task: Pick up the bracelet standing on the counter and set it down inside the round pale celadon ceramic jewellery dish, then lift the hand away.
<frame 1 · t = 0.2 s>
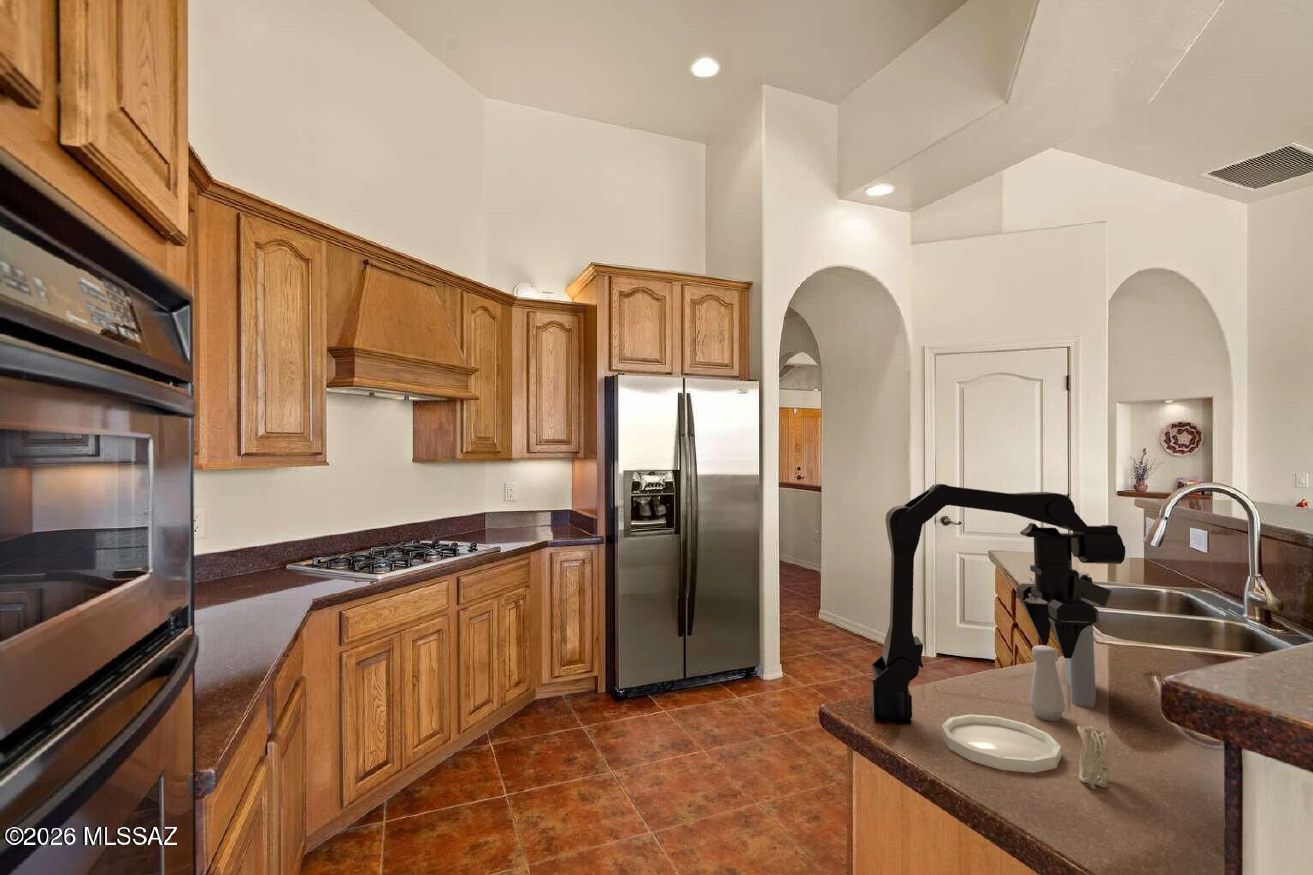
hand: (1055, 650, 109), 14 cm above the countertop, tool pointing down, fingers open, 9 cm apart
ring dish: (999, 746, 103), on the countertop
bracelet: (1095, 784, 91), on the countertop
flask: (1081, 693, 127), on the countertop
salt shaker: (1047, 717, 115), on the countertop
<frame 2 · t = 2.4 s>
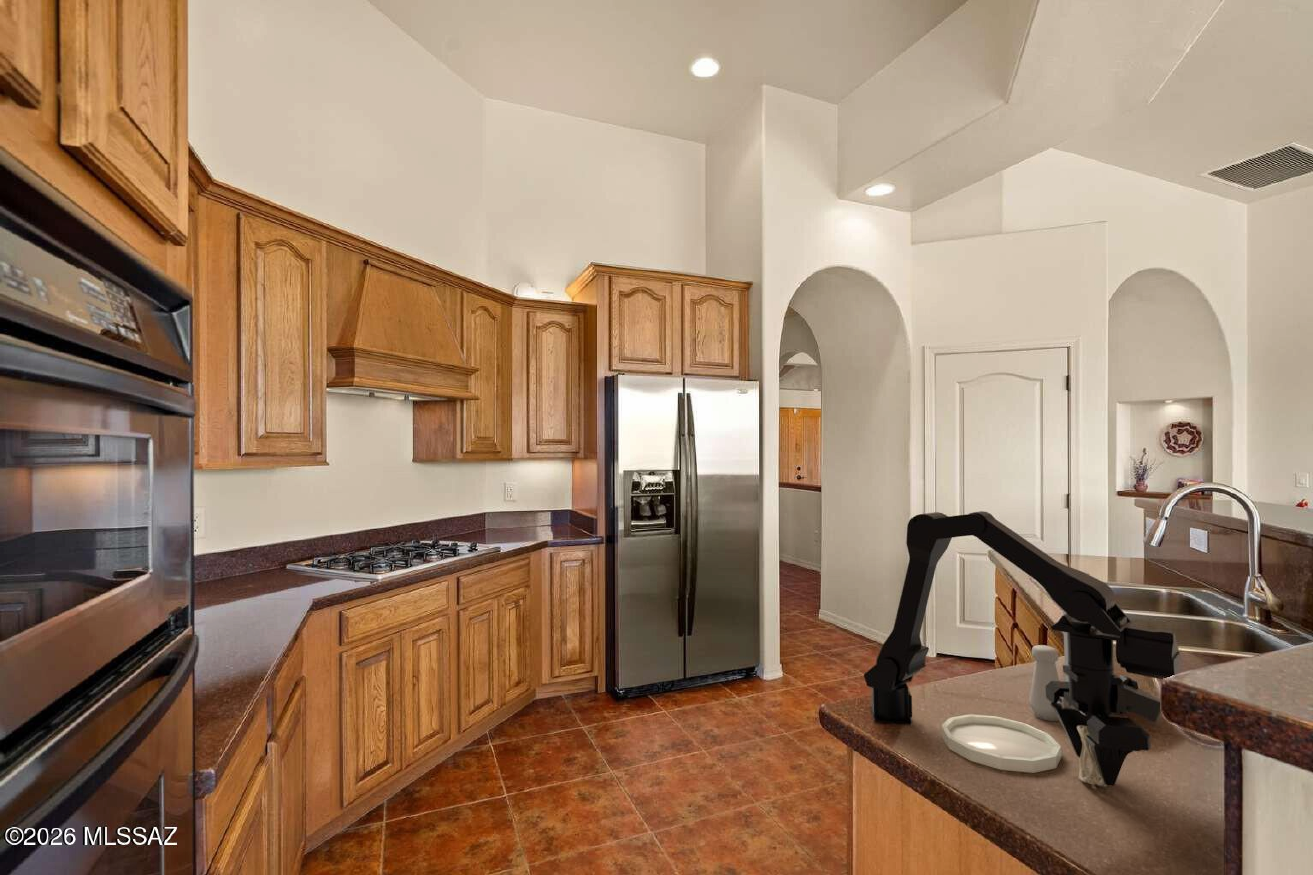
hand: (1094, 770, 91), 2 cm above the countertop, tool pointing down, fingers closed on bracelet, 8 cm apart
bracelet: (1095, 784, 91), on the countertop, touching gripper
everything else where it was.
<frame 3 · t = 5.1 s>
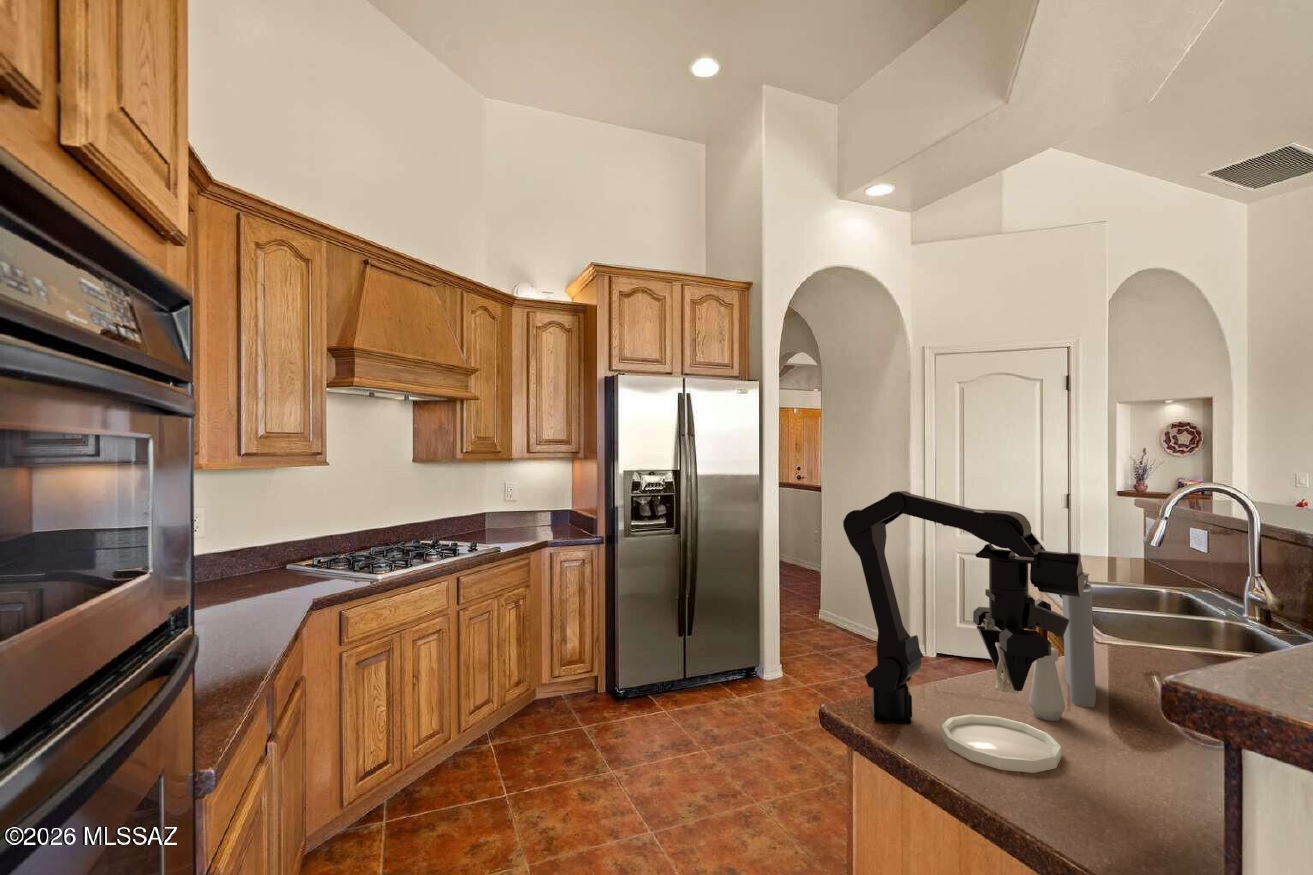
hand: (1008, 681, 102), 11 cm above the countertop, tool pointing down, fingers closed on bracelet, 8 cm apart
bracelet: (1008, 692, 102), point 9 cm above the countertop, touching gripper
everything else where it was.
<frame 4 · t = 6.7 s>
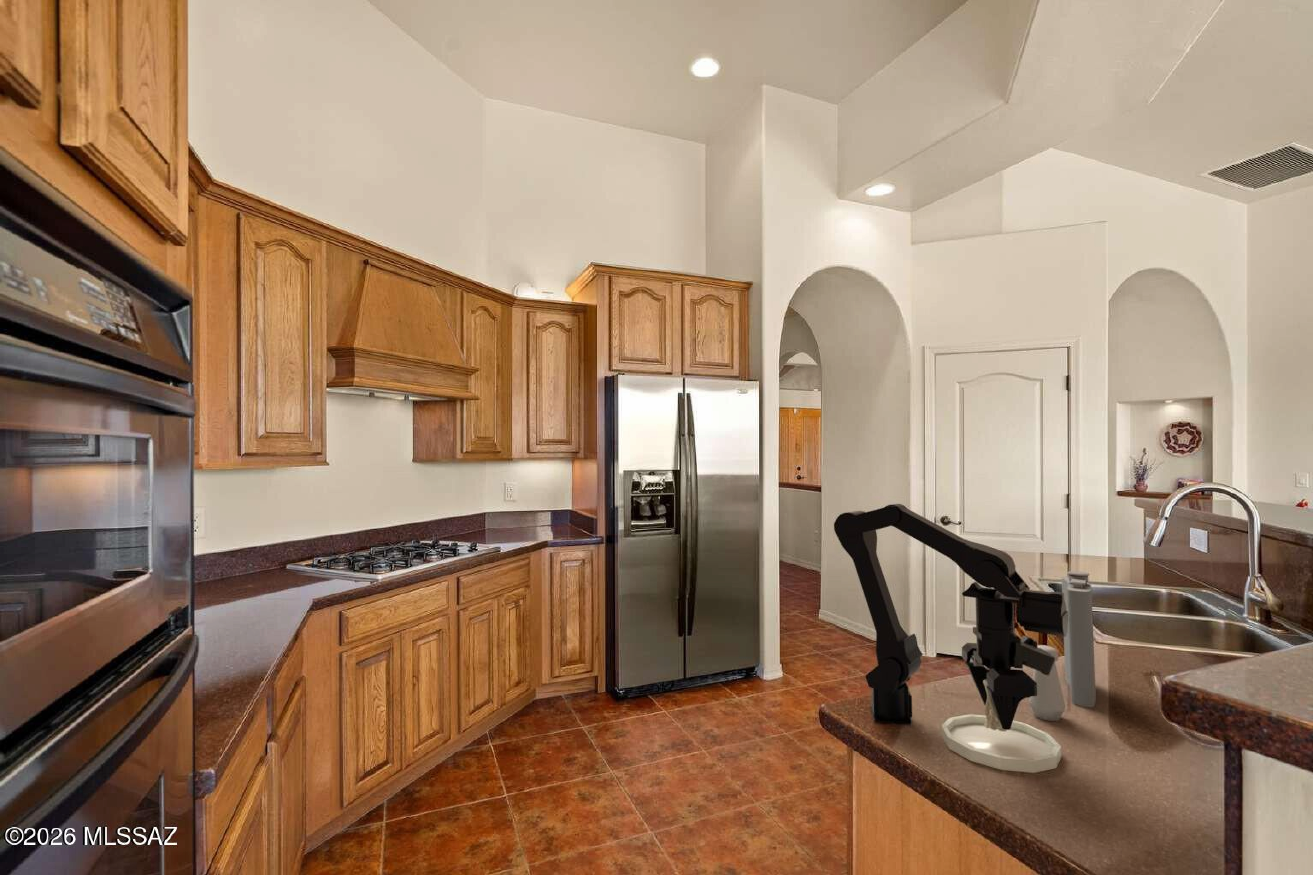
hand: (997, 718, 103), 5 cm above the countertop, tool pointing down, fingers closed on bracelet, 8 cm apart
bracelet: (997, 730, 103), point 3 cm above the countertop, touching gripper
everything else where it was.
when the fingers open (4 cm above the countertop, at t = 7.7 s): bracelet drops 2 cm, resting on ring dish.
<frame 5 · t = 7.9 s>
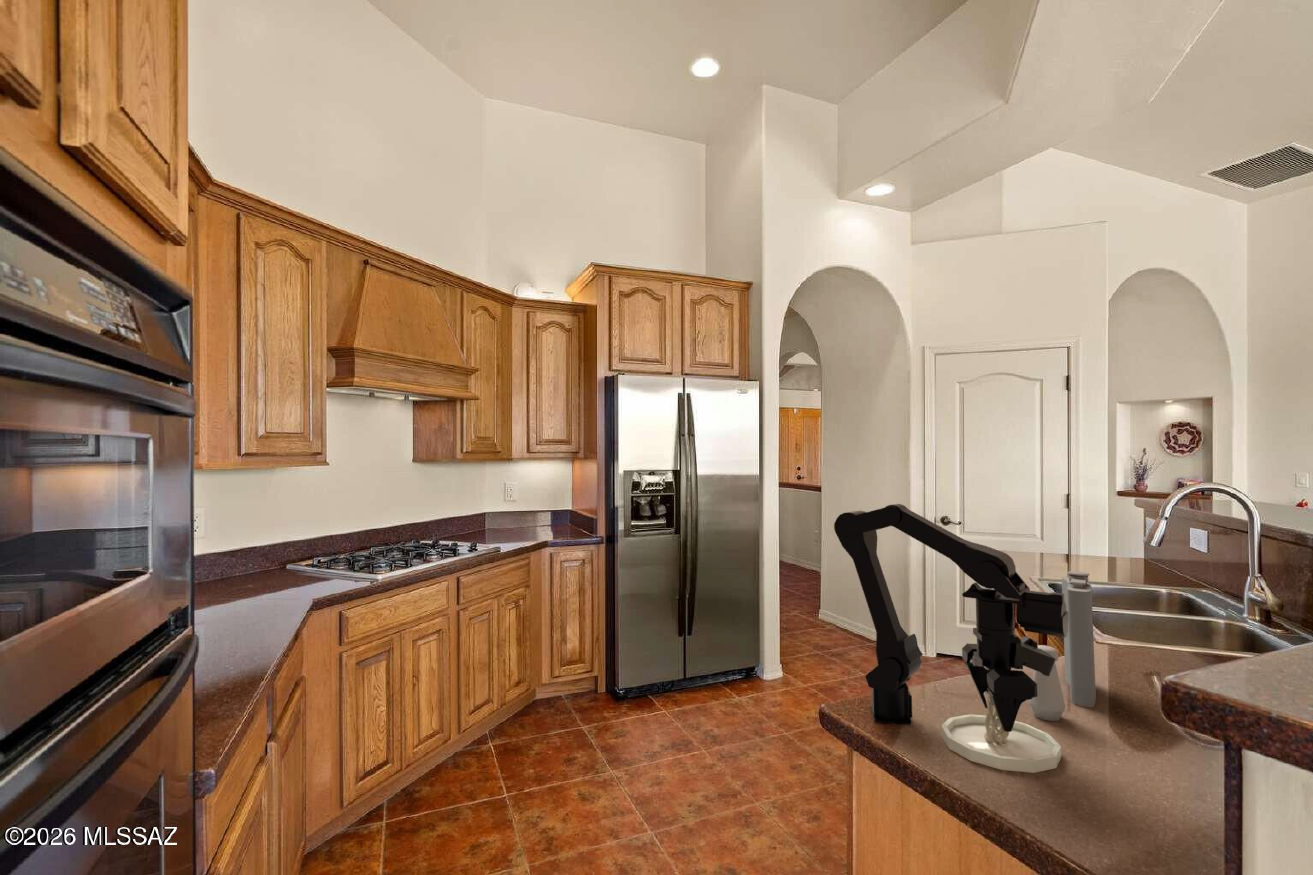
hand: (997, 719, 103), 4 cm above the countertop, tool pointing down, fingers open, 9 cm apart
bracelet: (997, 742, 103), resting on ring dish, touching gripper
everything else where it was.
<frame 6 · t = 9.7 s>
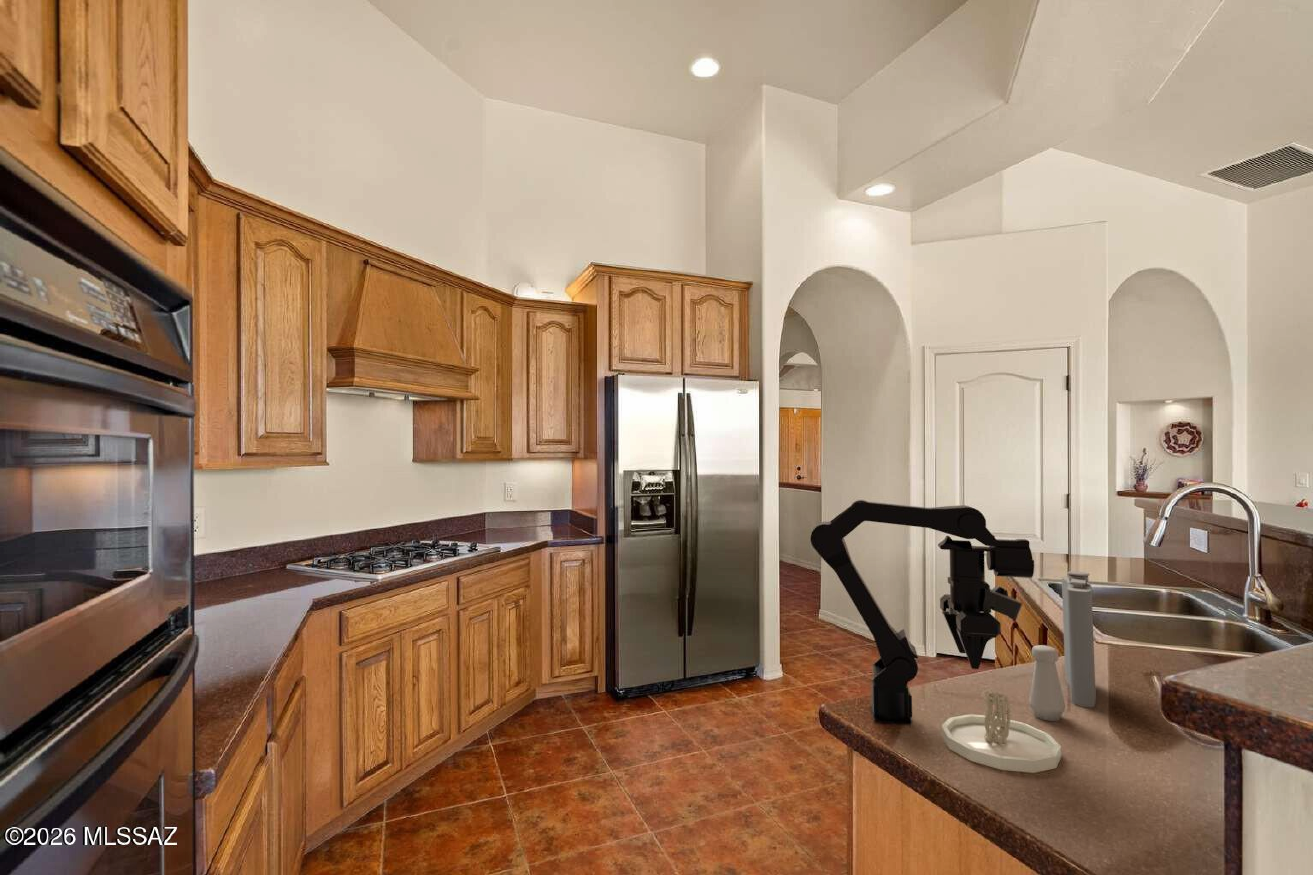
hand: (968, 660, 111), 12 cm above the countertop, tool pointing down, fingers open, 9 cm apart
bracelet: (997, 742, 103), resting on ring dish
everything else where it was.
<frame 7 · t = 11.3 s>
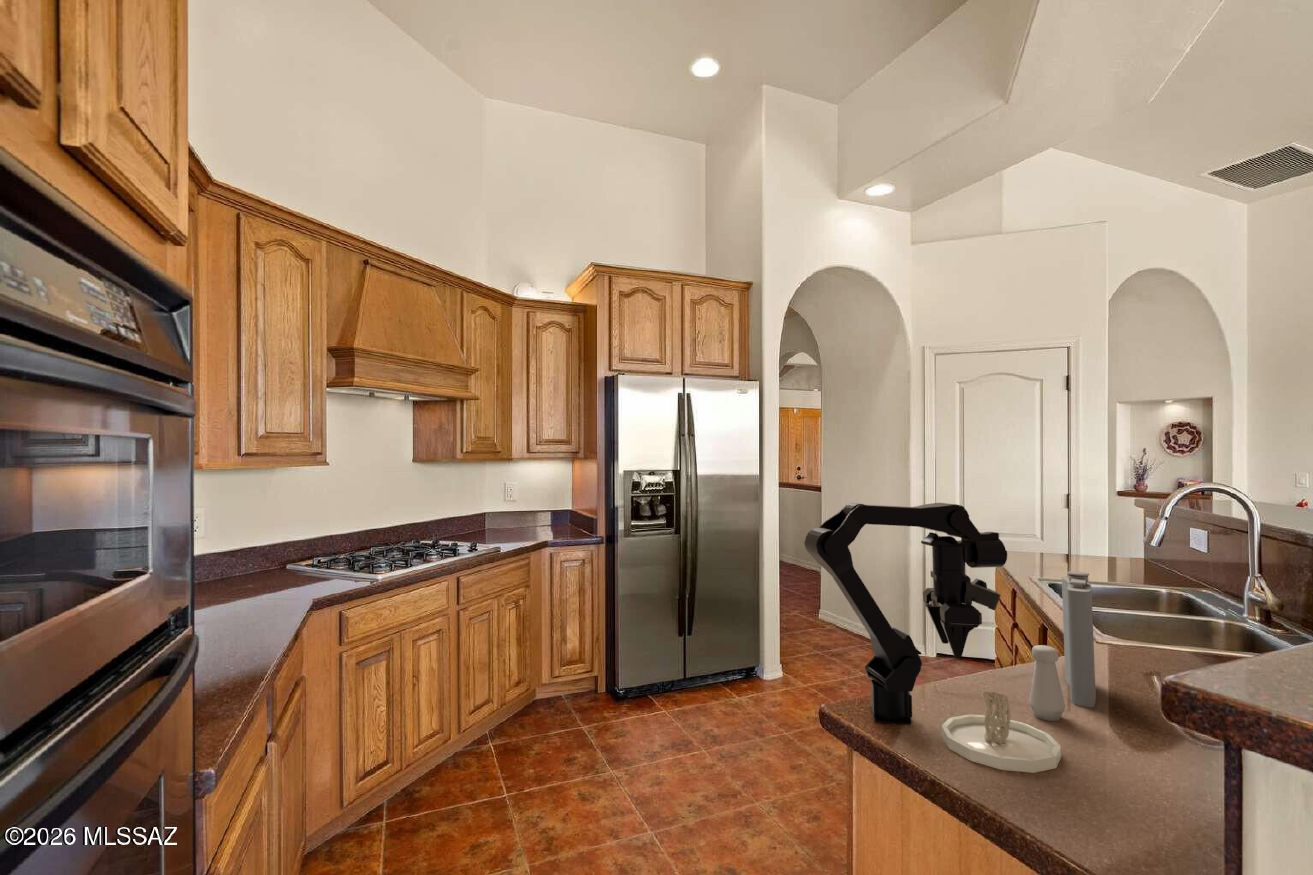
hand: (951, 650, 117), 12 cm above the countertop, tool pointing down, fingers open, 9 cm apart
nothing on the countertop moved.
at the end: bracelet inside the target area on the ring dish (0.5 cm from its centre), point 0.4 cm above the ring dish's base; the gripper is holding nothing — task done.
